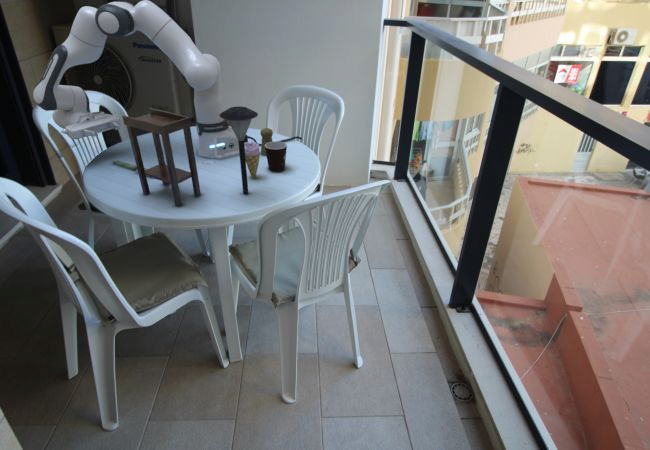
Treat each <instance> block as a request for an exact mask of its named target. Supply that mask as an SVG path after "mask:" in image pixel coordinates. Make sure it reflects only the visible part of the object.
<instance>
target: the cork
mask: <svg viewBox="0 0 650 450" xmlns="http://www.w3.org/2000/svg"><path fill="white" fill-rule="evenodd" d="M273 135H274V131H273V130H272V129H271V128H267V127H266V128H262V129H261V130H260V136H261V143H260V144H261V146H260V155H261V156H264V157H267V156H266V150H265V144H266V143H269V142H274V141H273Z"/></svg>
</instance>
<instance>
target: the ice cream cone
mask: <svg viewBox="0 0 650 450" xmlns="http://www.w3.org/2000/svg"><path fill="white" fill-rule="evenodd" d="M256 142H257V141H256ZM256 142H254V141H253V140H252V141H248V142H246V146H245V159H246V167H247V169H248V172H249V174H250V177H251V179H256V177H257V172H258V169H259V164H260V157H261V156H260V155H261V150H260V146H259V144H260V143H258V142H257V144H256Z"/></svg>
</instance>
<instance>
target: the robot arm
mask: <svg viewBox="0 0 650 450" xmlns="http://www.w3.org/2000/svg"><path fill="white" fill-rule="evenodd" d="M137 32H141V33H142V34H144V35H145V36H146V37H147V38H148V39H149V40H150V41H151V42H152V43H153V44H154V45H156V46H157V48H158V49H159V50H161V52H163V53H164V54H165V55H166V56H167V58H169V60H171V61H172V63H173V64H174V66H175V67H176V68H177V69H178V71H179V72H180V73H181V74H182V76H183V77H184V78H185V80H186V82H187V84H188V85H189V86H190V87H191V88H193V105H194V111H195V112H194V113H195V118H196V119H195V127H196V133H197V137H198V145H197V152H196V153H197V155H198V156H200V157H203V158H208V159H216V160H224V159H227V158H231V157H235V156H240V154H239V143H238V139H237V137H236V135H235V133H234V132H233V130H232V128H231V126H230V124H229V123H228V121H227V120H225V119H222V118H220V116H219V115H220V114H221V113H222V112H224V109H223V107H224V106H223V96H222V95H223V94H222V92H223V90H222V89H223V88H222V87H223V86H222V72H221V71H222V69H221V64H220V61H219V60H218V59H217V57H216V56H214V55H212V54H210V53H202V52H201V51H200V49H198V47H197V46H196V45H195V43H194V42H193V40H192V38H191V37H190V36H189V34H188V33H186V31H185V30H184V29H182V27H180V26H179V24H177V23H176V21H175V20H174V19H173V18H172V17H170V15H169V14H167V12H165V11H164V10H163V9H161V7H159V6H158V5H157V4H155V3H153V2H152V1H150V0H140V1H139V2H138V3H136V4H134V3H132V2H129V1H125V0H121V1H111V2H108V3H104V4H102V5H100V6H99V7H98V8H96V7H93V6H89V5H85V6H82V7H81V8H79V10H78V12H77V13H76V16H75V17H74V19H73V22H72V25H71V29H70V31H69V35H68V36H67V38H66V39H65V40H64V41H63V42H62V43H61V44H60V45H58V46H56V47H55V49H54V50H53V52H52V53H51V56H50V58H49V60H48V61H47V64H46V66H45V69H44V70H43V73H42V75H41V77H40V79H39V81H38V82H37V83H36V85H35V86H34V88H33V90H32V100H33V101H34V103H35V104H36V105H37V106H38V107H39V108H40V109H42V110H44V111H45V112H51V111H53V112H52V114H51V115H52V120H53V122H54V123H55V124H56V126H58V127H59V128H61V129H62V130H60V132H61V133H62V134H65V135H67V137H69V138H70V139H73V140H81V139H83V138H86V137H97V136H98V135H99V134H100V133H104V132H107V131H110V130H115V131H117V130H120V129H121V126H122V123H121V119H120V117H119V116H117V115H113V114H109V113H105V112H104V111H93V112H89V110H90V98H89V96H88V94H87V93H86V91H85V90H84V88H82V87H80V86H76V85H66V84H60V83H61V80H62V78H63V76H64V74H65V73H66V71H67V70H68V69H70V68H72V67H75V66H80V65H85V64H86V65H87V64H92V63H94V62H96V61H98V60H99V59H100V57H101V56H102V55H103V52H104V48H105V46H106V45H105V44H106V42H107V38H108V37H109V38H113V39H120V38H123V37H129V36H131V35H133V34H134V33H137ZM249 139H250V140H252V141H253V143H254V142H256V144H257V143H258V142H257V140H256V138H254V137H252V136H250V135H248V134H246V136H245V138H244V147H245V146H246V143H247V142H249ZM295 139H298V140H300V141H301V140H303V138H302V137H301V136H292V137H289V138H284V139H282V140H278V142H284V143H285V142H288V141H293V140H295ZM258 144H259V147H261V144H262V143H258Z"/></svg>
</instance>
